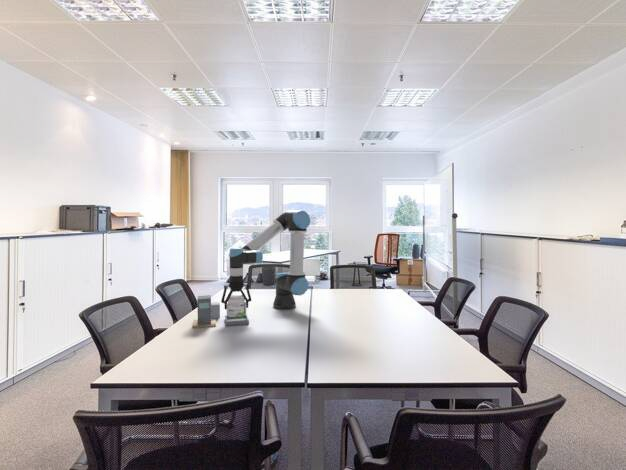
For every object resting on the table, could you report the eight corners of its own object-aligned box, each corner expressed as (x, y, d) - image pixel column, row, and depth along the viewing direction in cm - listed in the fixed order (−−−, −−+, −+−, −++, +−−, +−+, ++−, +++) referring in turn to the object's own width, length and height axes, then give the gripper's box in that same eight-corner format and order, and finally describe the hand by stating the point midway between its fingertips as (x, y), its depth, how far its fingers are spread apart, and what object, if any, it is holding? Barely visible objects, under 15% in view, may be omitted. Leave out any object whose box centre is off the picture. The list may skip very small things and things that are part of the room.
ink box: (245, 315, 196) (245, 294, 196) (242, 317, 191) (242, 296, 191) (230, 314, 197) (230, 294, 196) (227, 317, 192) (227, 296, 191)
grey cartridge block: (219, 315, 209) (219, 302, 208) (219, 317, 203) (219, 304, 203) (211, 315, 207) (211, 302, 207) (211, 318, 201) (211, 305, 201)
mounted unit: (215, 320, 197) (215, 294, 197) (215, 326, 186) (215, 298, 185) (193, 321, 194) (193, 295, 193) (192, 328, 182) (192, 300, 182)
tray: (246, 317, 202) (246, 313, 202) (248, 324, 189) (248, 320, 189) (225, 319, 199) (225, 315, 199) (226, 326, 186) (225, 322, 186)
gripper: (255, 273, 200) (255, 311, 201) (216, 274, 193) (216, 313, 194) (256, 275, 193) (256, 314, 193) (216, 276, 186) (216, 317, 187)
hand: (236, 314), depth 194 cm, fingers closed on ink box, 9 cm apart
